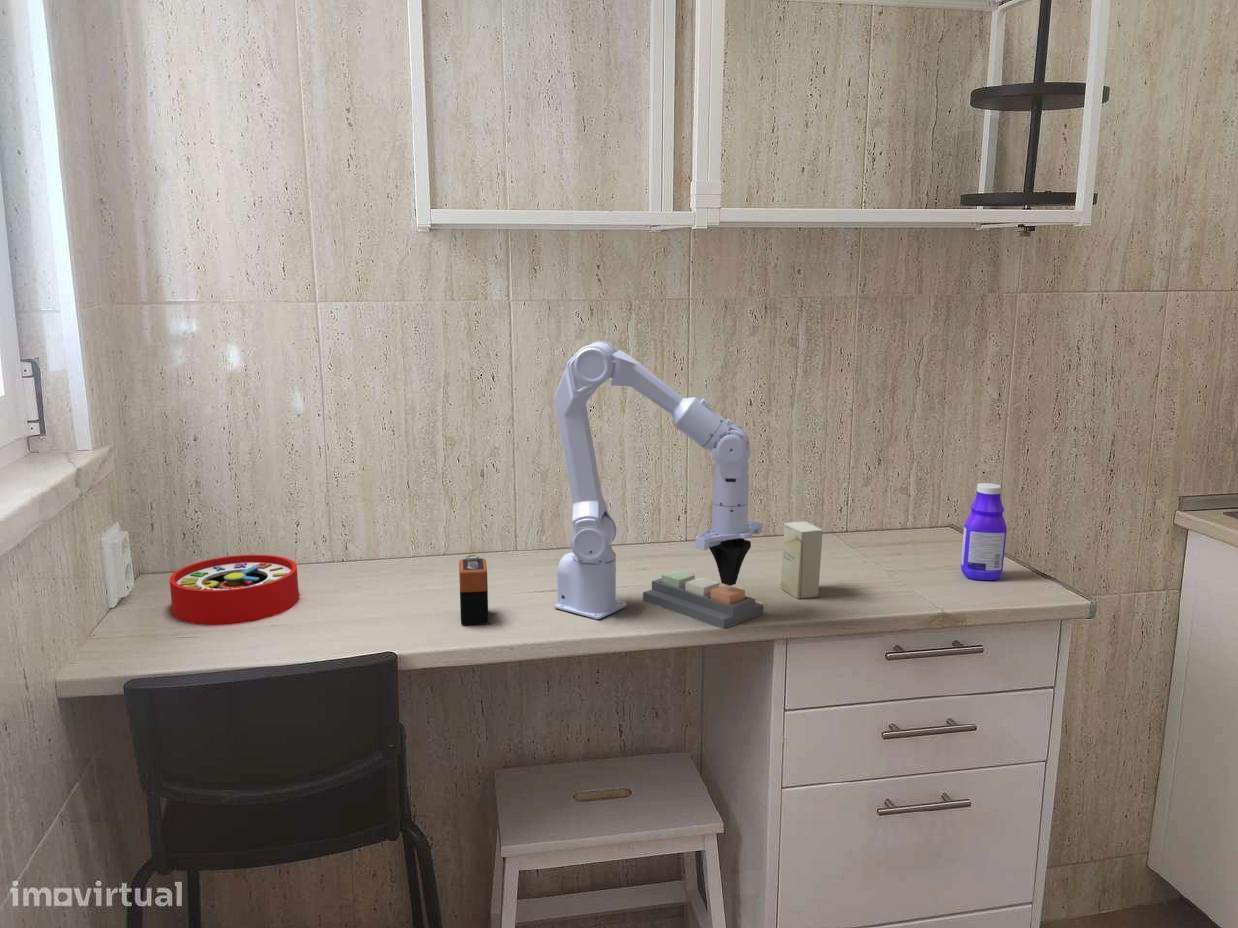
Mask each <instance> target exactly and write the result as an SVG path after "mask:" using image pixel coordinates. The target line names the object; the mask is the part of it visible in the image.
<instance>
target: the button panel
mask: <svg viewBox="0 0 1238 928" xmlns="http://www.w3.org/2000/svg"><path fill="white" fill-rule="evenodd" d="M642 601H643V602H646V603H649V604H652V605H655V606H657V607H660V608H663V609H665V610H669V611H672V612H675V613H678V614H681V615H684V616H686V617H689V618H692V619H695V620H698V621H700V622H703V623H706V624H710V625H713V626H715V627H719V628H721V629H727V628H728V627H731V626H734V625H737V624H739V623H742V622H744V621H747V620H750V619H753V618H754V617H757V616H760V615H762V614H764V604H762V603H759V602H756V598H753V597H750V596H746V595H745V599H744V600H741V601H739V602H736V603H733V604H730V605H729V604H725V603H722V602H719V601H716V600H713V599H710V594H709V595H707V596H701V595H697V594H694V593H691V592H688V591H685V587H682V588H676V587H672V586H669V585H666V584H663V583H662V577H660V578H658V579H654V580H651V589H649V590H646V591H643V592H642Z"/></svg>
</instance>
